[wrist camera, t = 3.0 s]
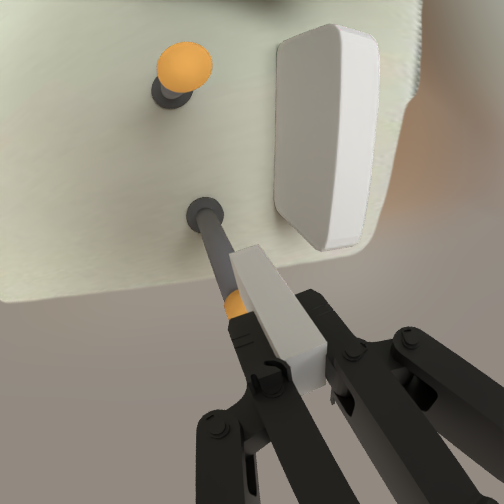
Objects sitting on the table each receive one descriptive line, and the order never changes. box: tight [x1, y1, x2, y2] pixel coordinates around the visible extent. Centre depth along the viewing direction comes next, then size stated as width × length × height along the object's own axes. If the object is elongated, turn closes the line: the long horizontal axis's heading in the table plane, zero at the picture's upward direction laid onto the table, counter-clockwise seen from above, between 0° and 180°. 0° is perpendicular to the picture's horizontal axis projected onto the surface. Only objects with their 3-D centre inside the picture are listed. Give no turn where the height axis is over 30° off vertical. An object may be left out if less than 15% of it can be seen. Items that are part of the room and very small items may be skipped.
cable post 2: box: [187, 197, 248, 320], centre depth 36 cm, size 6×6×24 cm
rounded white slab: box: [274, 24, 380, 252], centre depth 36 cm, size 29×8×18 cm, turn 179°
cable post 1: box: [152, 42, 212, 108], centre depth 25 cm, size 6×6×24 cm
